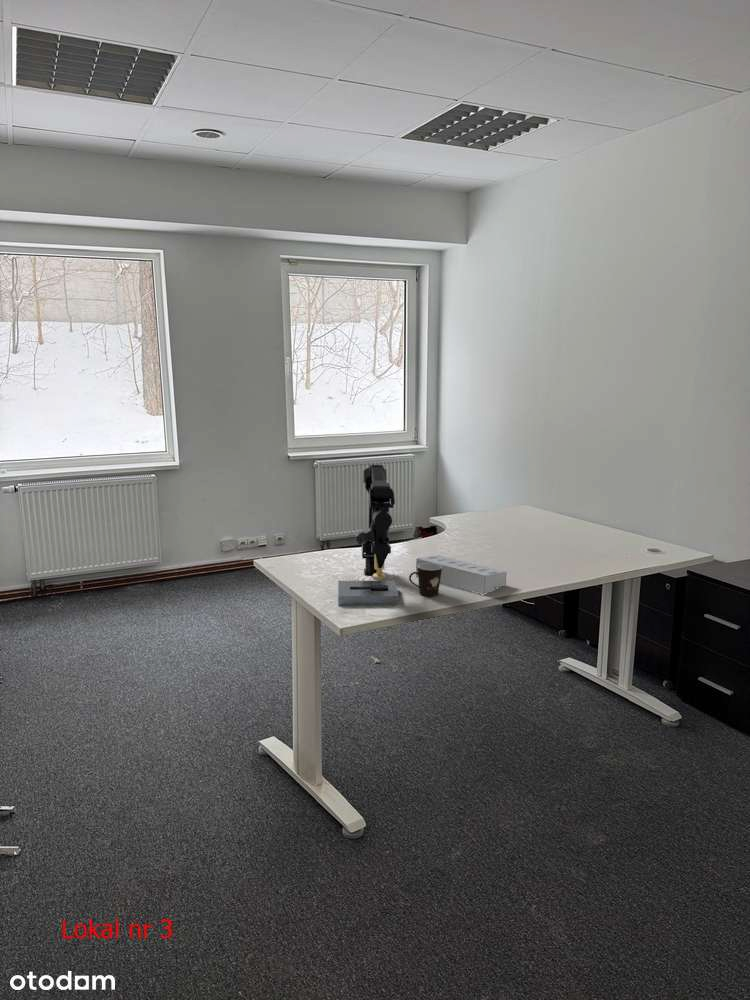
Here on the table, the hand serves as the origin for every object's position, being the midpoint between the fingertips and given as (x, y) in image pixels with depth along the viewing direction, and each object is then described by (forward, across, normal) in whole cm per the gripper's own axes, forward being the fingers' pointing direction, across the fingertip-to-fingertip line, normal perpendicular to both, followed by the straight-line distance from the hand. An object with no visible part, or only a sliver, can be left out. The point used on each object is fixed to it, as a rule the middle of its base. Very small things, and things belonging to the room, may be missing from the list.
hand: (379, 566), depth 237 cm
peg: (+4, 0, 0) cm, 4 cm away
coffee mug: (+11, -3, +16) cm, 20 cm away
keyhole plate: (+11, 0, -4) cm, 12 cm away
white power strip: (+12, -17, +31) cm, 37 cm away
